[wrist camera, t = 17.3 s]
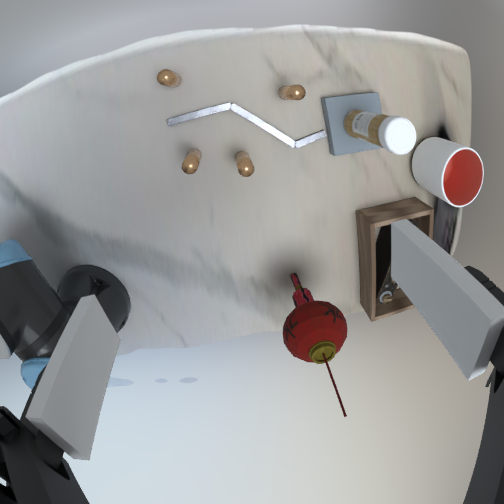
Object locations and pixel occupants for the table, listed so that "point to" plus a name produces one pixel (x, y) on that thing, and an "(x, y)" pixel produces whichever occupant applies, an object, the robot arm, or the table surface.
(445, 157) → the cup
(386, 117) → the sprinkles bottle
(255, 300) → the table surface
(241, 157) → the wire course
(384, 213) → the camera corral
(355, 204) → the table surface
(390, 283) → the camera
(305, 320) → the lantern
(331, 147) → the pad
